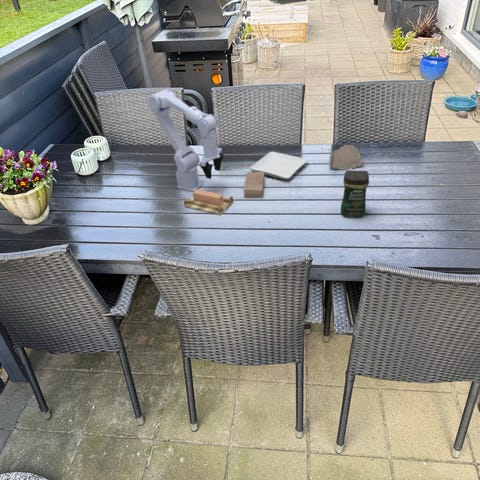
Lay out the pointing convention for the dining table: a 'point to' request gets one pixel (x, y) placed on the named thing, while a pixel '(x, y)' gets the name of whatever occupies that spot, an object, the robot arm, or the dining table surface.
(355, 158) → the pumice stone
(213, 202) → the clay strip
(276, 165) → the salad plate
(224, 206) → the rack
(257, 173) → the brick
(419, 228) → the dining table surface
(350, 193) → the coffee jar
